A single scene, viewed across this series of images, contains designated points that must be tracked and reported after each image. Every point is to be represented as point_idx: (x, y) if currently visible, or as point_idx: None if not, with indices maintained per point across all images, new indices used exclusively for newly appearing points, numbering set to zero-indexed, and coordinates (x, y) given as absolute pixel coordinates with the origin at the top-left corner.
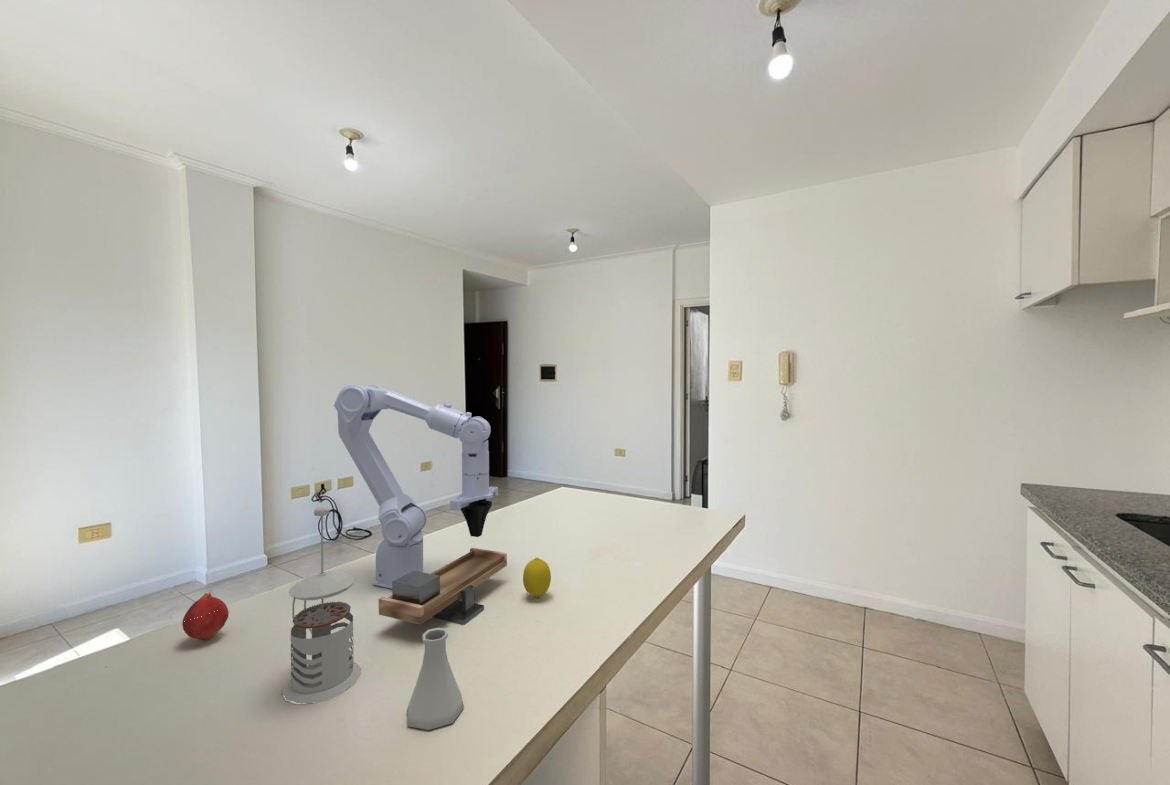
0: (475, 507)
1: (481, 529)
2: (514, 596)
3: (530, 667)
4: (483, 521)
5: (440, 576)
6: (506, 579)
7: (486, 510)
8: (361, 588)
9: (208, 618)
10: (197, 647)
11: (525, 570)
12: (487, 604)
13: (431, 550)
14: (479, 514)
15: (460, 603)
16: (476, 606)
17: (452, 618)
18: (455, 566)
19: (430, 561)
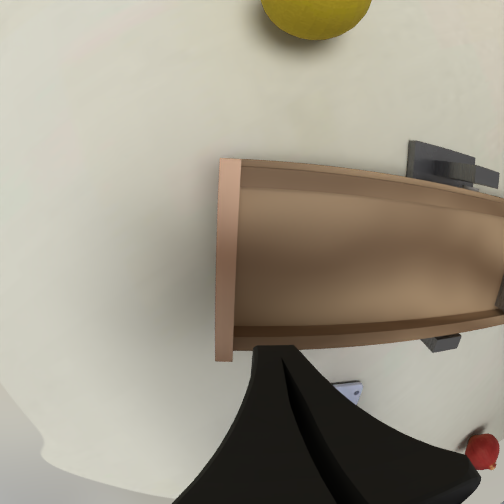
0: (461, 501)
1: (280, 364)
2: (314, 84)
3: (499, 11)
4: (273, 400)
5: (423, 315)
6: (199, 173)
7: (280, 474)
8: None
9: (496, 442)
10: (481, 429)
11: (364, 7)
12: (383, 144)
13: (129, 458)
14: (405, 443)
15: None
16: (425, 158)
17: None
18: (352, 325)
19: (180, 438)
